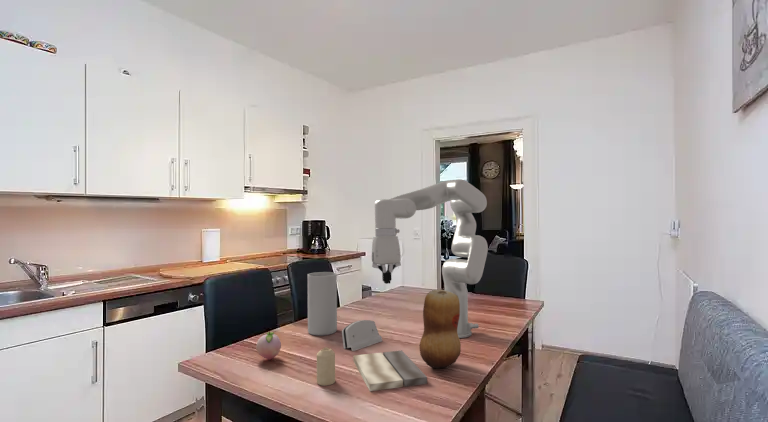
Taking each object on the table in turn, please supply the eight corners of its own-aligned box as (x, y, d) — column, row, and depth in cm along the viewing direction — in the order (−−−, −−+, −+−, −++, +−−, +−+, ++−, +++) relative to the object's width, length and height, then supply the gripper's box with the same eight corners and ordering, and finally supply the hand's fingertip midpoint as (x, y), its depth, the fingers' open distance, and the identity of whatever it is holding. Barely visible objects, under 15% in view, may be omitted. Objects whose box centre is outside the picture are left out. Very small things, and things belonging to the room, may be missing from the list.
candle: (317, 378, 120) (317, 346, 121) (335, 377, 121) (335, 345, 121) (315, 386, 115) (315, 352, 115) (334, 385, 115) (334, 351, 116)
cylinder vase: (302, 334, 166) (301, 275, 166) (317, 326, 178) (317, 271, 178) (327, 337, 161) (327, 277, 162) (342, 329, 173) (341, 272, 173)
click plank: (381, 358, 137) (381, 352, 137) (402, 386, 114) (402, 380, 114) (353, 361, 134) (353, 355, 134) (369, 391, 111) (369, 384, 111)
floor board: (401, 356, 139) (401, 350, 139) (427, 383, 116) (427, 376, 116) (383, 358, 137) (383, 352, 137) (404, 386, 114) (404, 379, 114)
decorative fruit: (255, 357, 139) (255, 329, 140) (279, 354, 142) (279, 326, 142) (257, 366, 131) (256, 336, 131) (282, 363, 134) (282, 333, 134)
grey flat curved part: (352, 351, 144) (345, 324, 147) (344, 353, 147) (338, 326, 150) (383, 340, 156) (376, 315, 159) (375, 342, 159) (369, 317, 162)
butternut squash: (451, 378, 120) (450, 296, 120) (412, 369, 127) (412, 292, 127) (467, 363, 131) (466, 289, 132) (431, 356, 139) (430, 285, 139)
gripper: (401, 231, 149) (402, 279, 149) (363, 233, 144) (364, 282, 144) (408, 232, 141) (409, 283, 141) (368, 234, 137) (369, 286, 137)
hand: (387, 282), depth 143 cm, fingers closed
